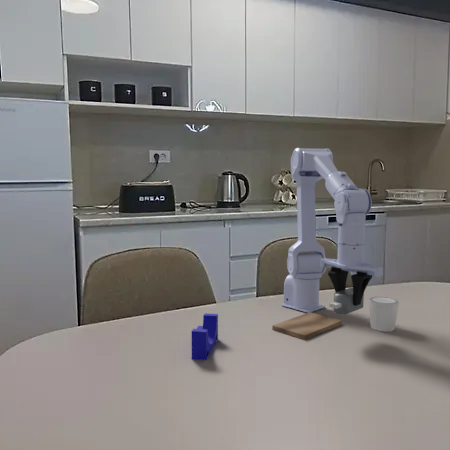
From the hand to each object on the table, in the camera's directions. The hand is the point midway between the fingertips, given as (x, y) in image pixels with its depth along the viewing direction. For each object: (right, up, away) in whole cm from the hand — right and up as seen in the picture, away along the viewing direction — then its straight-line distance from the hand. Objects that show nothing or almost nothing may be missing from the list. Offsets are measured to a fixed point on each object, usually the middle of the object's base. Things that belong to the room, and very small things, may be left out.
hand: (348, 302), depth 105 cm
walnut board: (-8, -7, +9) cm, 14 cm away
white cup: (+11, -8, +9) cm, 16 cm away
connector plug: (0, -1, 0) cm, 1 cm away
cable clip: (-33, -9, -5) cm, 35 cm away
